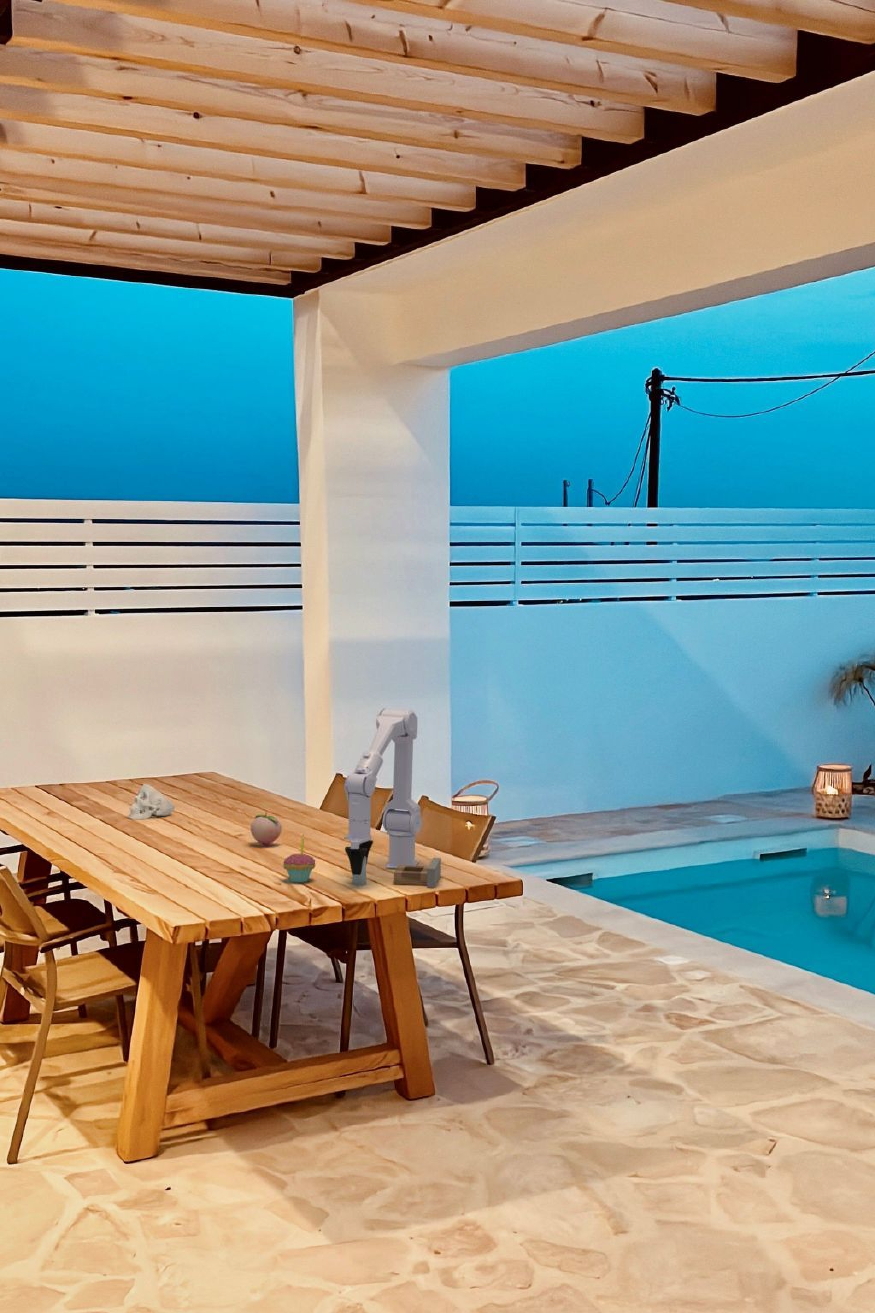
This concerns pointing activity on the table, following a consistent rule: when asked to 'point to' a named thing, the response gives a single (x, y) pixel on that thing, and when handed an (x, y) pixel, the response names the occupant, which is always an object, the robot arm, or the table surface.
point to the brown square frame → (410, 875)
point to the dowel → (360, 878)
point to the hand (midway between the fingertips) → (359, 871)
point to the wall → (433, 872)
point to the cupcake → (299, 866)
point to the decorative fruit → (265, 829)
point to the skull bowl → (150, 804)
